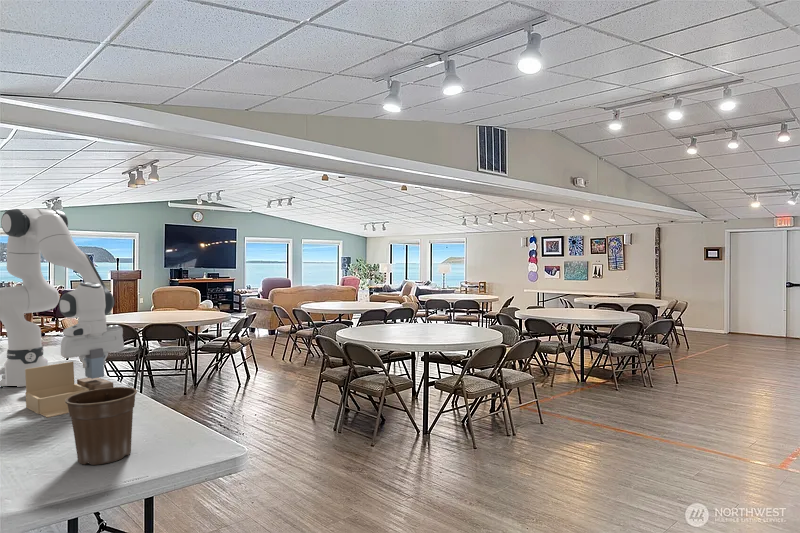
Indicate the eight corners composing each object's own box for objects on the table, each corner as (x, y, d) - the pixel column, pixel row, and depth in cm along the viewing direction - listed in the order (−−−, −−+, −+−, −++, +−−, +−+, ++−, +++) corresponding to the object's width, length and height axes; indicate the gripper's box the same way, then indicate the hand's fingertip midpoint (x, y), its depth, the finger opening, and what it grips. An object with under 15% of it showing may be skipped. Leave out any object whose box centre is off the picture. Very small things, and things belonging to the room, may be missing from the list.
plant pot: (60, 457, 143) (57, 395, 143) (126, 440, 155) (124, 383, 154) (78, 475, 132) (75, 407, 131) (148, 456, 143) (146, 393, 142)
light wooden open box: (25, 407, 189) (23, 369, 189) (75, 397, 201) (73, 361, 200) (45, 418, 176) (44, 377, 176) (98, 406, 188) (96, 368, 188)
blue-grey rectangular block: (85, 376, 200) (84, 348, 199) (97, 374, 203) (96, 346, 203) (92, 378, 196) (91, 350, 196) (104, 376, 199) (103, 348, 199)
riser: (77, 395, 203) (77, 379, 202) (95, 392, 207) (94, 376, 207) (95, 403, 192) (95, 386, 192) (113, 399, 197) (113, 382, 197)
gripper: (118, 323, 209) (120, 360, 209) (57, 330, 193) (59, 370, 194) (126, 325, 205) (127, 362, 205) (64, 332, 189) (66, 372, 190)
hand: (94, 366), depth 199 cm, fingers closed on blue-grey rectangular block, 4 cm apart
